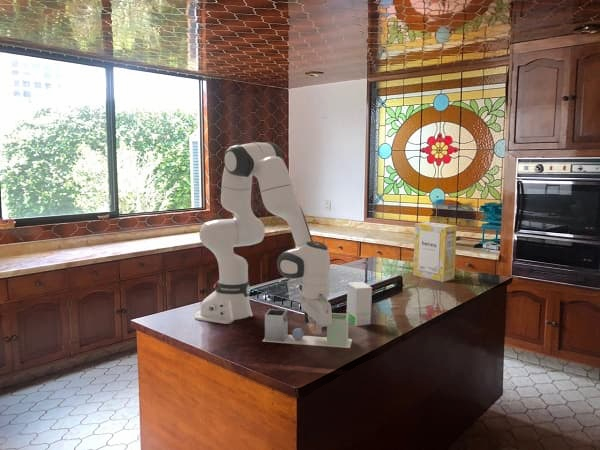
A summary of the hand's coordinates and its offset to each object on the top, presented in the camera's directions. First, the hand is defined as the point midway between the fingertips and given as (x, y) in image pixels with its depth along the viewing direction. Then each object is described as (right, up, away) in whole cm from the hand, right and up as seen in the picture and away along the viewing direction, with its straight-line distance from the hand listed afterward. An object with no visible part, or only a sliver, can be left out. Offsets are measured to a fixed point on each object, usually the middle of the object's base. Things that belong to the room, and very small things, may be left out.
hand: (315, 330), depth 160 cm
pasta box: (+66, +8, +91) cm, 113 cm away
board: (-3, -5, 0) cm, 5 cm away
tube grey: (-13, -3, +2) cm, 14 cm away
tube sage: (+7, -4, -2) cm, 9 cm away
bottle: (0, -2, +20) cm, 20 cm away
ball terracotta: (0, -1, 0) cm, 1 cm away
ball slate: (-6, -3, +1) cm, 7 cm away
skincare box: (+17, -2, +19) cm, 25 cm away
